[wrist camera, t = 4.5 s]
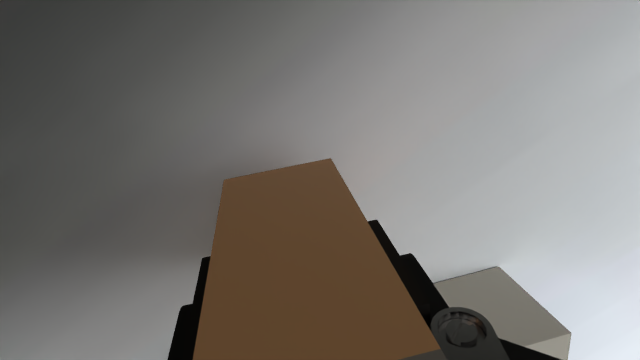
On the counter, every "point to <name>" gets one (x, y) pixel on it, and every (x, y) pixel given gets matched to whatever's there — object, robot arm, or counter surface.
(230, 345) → the two-tone square block
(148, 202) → the counter surface
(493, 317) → the socket plate
